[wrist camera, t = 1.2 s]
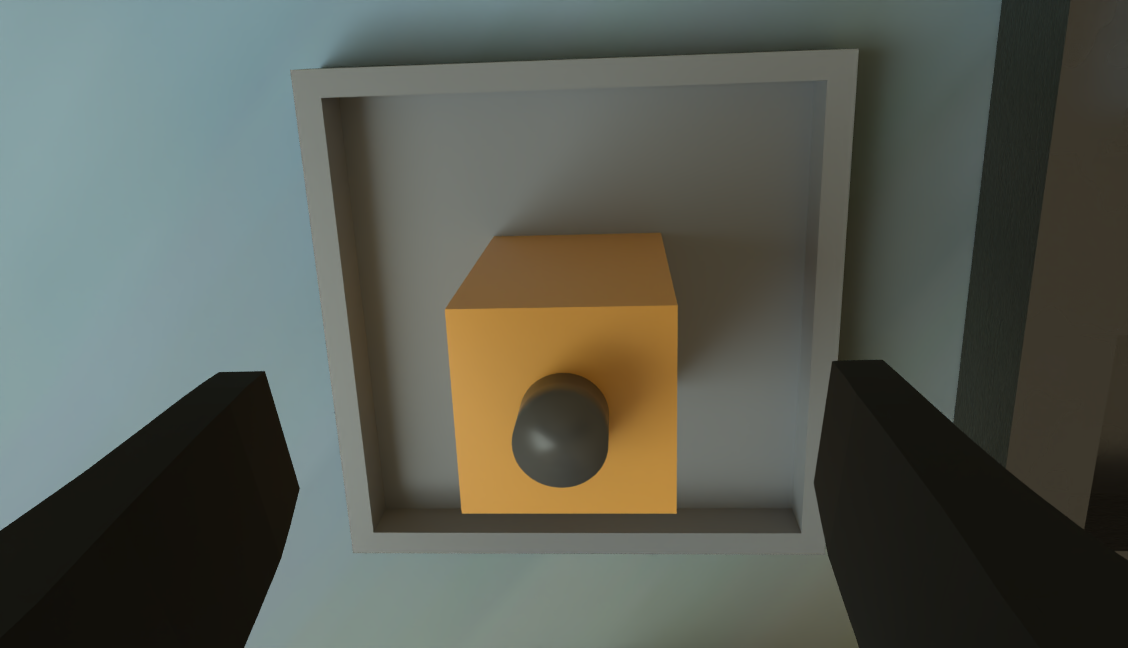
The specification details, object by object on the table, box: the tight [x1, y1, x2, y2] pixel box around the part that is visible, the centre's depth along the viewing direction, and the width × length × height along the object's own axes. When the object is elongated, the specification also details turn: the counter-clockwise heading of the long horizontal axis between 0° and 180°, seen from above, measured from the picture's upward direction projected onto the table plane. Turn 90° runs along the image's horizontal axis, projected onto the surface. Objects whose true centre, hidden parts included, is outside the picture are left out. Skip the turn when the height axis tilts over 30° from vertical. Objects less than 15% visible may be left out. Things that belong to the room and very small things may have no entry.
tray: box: [290, 49, 859, 555], centre depth 20 cm, size 12×12×2 cm
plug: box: [445, 233, 678, 514], centre depth 17 cm, size 4×4×7 cm
